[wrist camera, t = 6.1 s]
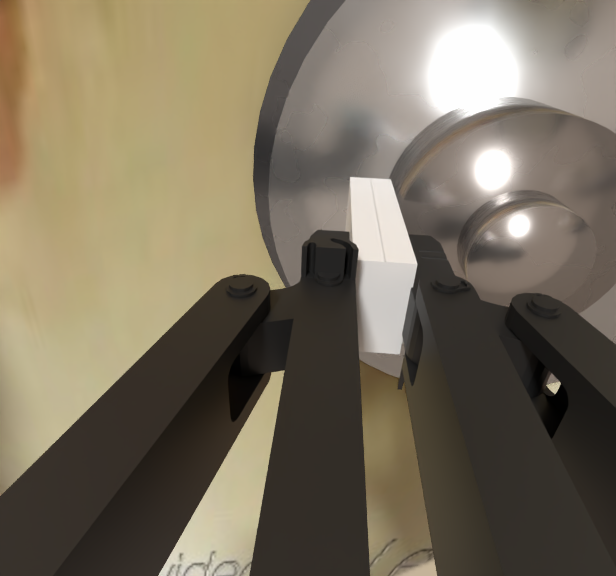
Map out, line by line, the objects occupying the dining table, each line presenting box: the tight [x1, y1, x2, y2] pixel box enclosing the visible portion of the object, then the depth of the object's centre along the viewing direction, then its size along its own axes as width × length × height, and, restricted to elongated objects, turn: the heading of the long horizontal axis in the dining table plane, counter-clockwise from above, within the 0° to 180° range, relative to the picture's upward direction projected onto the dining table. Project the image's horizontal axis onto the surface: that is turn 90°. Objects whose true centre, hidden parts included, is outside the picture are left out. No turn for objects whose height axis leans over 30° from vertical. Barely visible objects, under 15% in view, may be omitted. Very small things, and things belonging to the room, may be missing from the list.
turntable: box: [268, 0, 616, 384], centre depth 19 cm, size 20×26×3 cm
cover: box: [389, 97, 616, 314], centre depth 15 cm, size 8×8×5 cm
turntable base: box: [253, 0, 345, 288], centre depth 19 cm, size 22×22×1 cm
